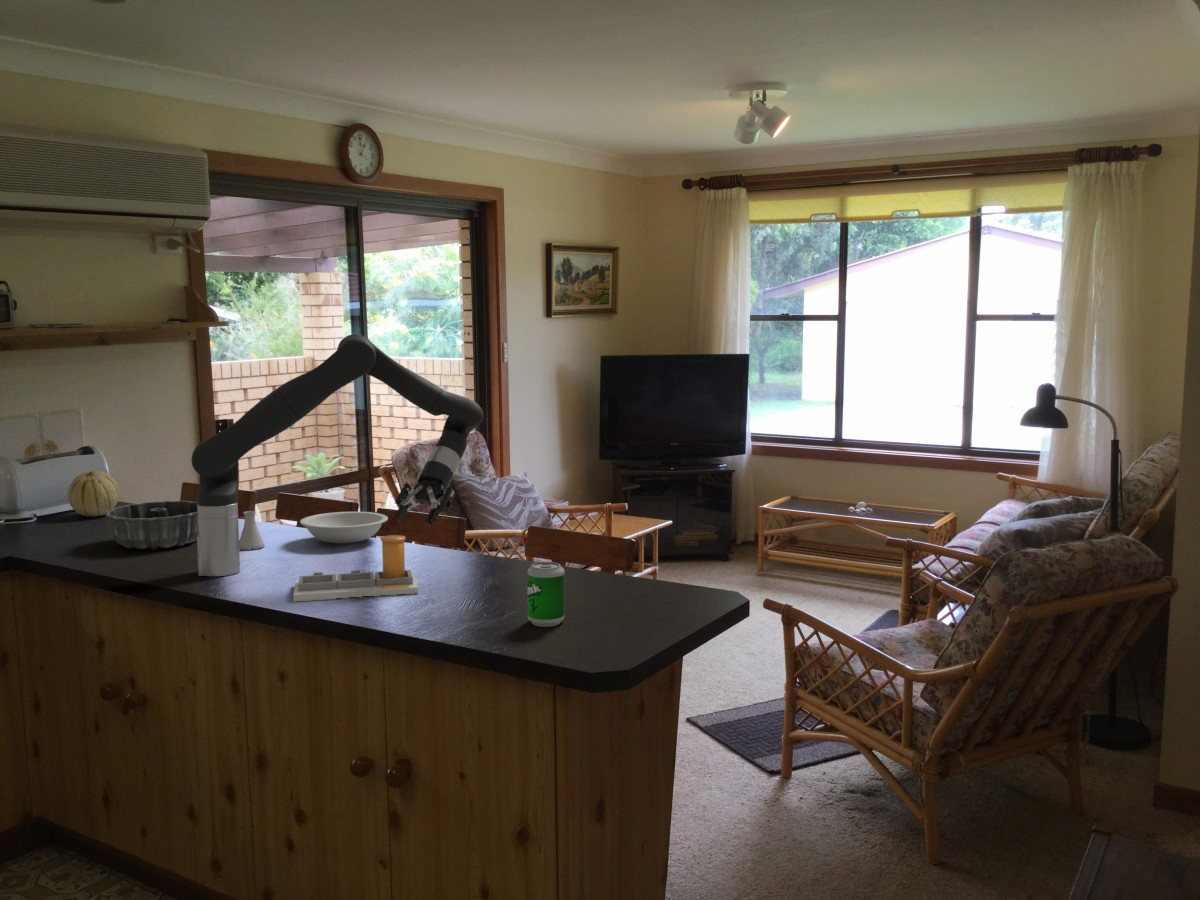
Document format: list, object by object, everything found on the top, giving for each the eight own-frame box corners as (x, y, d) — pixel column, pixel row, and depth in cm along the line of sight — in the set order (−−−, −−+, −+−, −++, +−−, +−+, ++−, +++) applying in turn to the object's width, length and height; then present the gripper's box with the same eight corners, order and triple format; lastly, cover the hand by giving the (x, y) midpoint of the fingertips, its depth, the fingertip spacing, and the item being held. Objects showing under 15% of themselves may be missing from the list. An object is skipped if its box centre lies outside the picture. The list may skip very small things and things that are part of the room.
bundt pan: (176, 556, 261) (174, 518, 260) (85, 552, 265) (83, 515, 264) (228, 536, 287) (227, 502, 286) (145, 532, 291) (143, 499, 290)
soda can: (564, 617, 206) (564, 560, 204) (564, 627, 198) (564, 569, 197) (528, 617, 206) (528, 560, 204) (526, 628, 198) (526, 569, 197)
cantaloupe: (113, 510, 326) (111, 465, 325) (126, 517, 315) (123, 470, 314) (63, 515, 317) (61, 469, 315) (74, 522, 306) (72, 474, 304)
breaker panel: (293, 601, 217) (293, 587, 216) (296, 585, 230) (295, 572, 230) (418, 593, 224) (418, 580, 223) (413, 578, 237) (413, 566, 237)
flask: (235, 551, 267) (234, 515, 265) (238, 545, 273) (236, 510, 272) (264, 550, 268) (262, 513, 267) (265, 544, 275) (264, 509, 274)
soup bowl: (381, 531, 295) (380, 509, 294) (394, 547, 273) (394, 523, 272) (297, 536, 286) (296, 514, 285) (304, 554, 264) (303, 529, 263)
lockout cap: (382, 583, 226) (381, 540, 224) (381, 577, 231) (380, 535, 230) (407, 582, 227) (406, 539, 226) (405, 576, 232) (404, 534, 231)
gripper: (409, 458, 244) (381, 511, 235) (458, 461, 238) (431, 516, 229) (422, 476, 249) (395, 529, 240) (470, 480, 243) (444, 534, 234)
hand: (413, 522), depth 234 cm, fingers open, 8 cm apart
